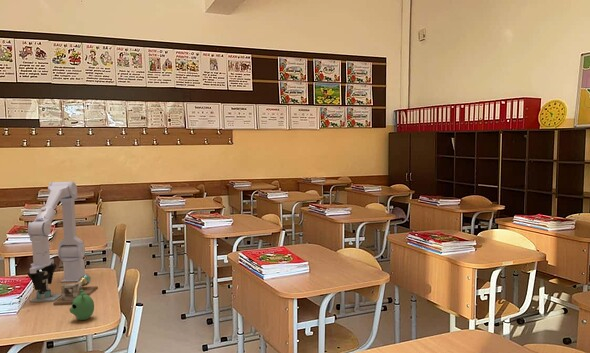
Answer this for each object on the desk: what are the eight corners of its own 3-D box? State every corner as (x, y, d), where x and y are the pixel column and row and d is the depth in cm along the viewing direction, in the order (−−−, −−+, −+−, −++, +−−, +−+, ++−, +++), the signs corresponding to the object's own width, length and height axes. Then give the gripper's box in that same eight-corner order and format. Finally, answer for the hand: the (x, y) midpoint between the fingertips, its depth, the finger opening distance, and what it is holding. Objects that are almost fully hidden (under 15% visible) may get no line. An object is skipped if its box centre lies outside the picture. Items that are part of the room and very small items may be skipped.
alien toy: (69, 318, 165) (67, 290, 165) (94, 314, 169) (92, 286, 168) (70, 325, 159) (68, 295, 158) (96, 320, 163) (94, 291, 162)
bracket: (75, 289, 199) (74, 274, 198) (97, 288, 199) (96, 274, 198) (53, 305, 180) (52, 289, 179) (77, 304, 180) (76, 288, 179)
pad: (39, 296, 191) (39, 294, 191) (62, 295, 191) (62, 293, 191) (30, 302, 184) (30, 300, 184) (53, 301, 184) (53, 299, 184)
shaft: (81, 284, 198) (80, 275, 198) (91, 284, 198) (90, 274, 198) (64, 296, 184) (64, 285, 183) (75, 295, 184) (74, 285, 183)
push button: (56, 294, 191) (54, 269, 190) (54, 298, 186) (52, 272, 185) (37, 296, 189) (35, 271, 188) (34, 300, 184) (32, 274, 183)
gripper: (40, 248, 193) (42, 281, 194) (20, 257, 179) (23, 293, 180) (57, 247, 193) (60, 280, 194) (39, 256, 179) (42, 292, 180)
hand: (43, 286), depth 187 cm, fingers open, 7 cm apart
